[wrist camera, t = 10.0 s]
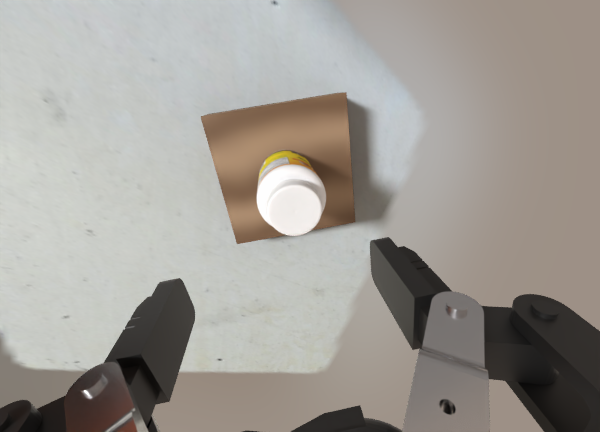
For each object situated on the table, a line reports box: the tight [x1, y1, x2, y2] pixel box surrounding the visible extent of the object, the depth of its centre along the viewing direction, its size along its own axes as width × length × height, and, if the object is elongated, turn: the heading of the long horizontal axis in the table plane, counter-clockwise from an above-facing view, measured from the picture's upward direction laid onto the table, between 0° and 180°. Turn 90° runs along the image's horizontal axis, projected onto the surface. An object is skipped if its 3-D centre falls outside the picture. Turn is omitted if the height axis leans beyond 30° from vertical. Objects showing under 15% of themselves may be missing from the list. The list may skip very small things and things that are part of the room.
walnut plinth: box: [201, 93, 355, 244], centre depth 30 cm, size 14×14×4 cm
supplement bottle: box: [257, 150, 326, 236], centre depth 24 cm, size 6×6×10 cm
